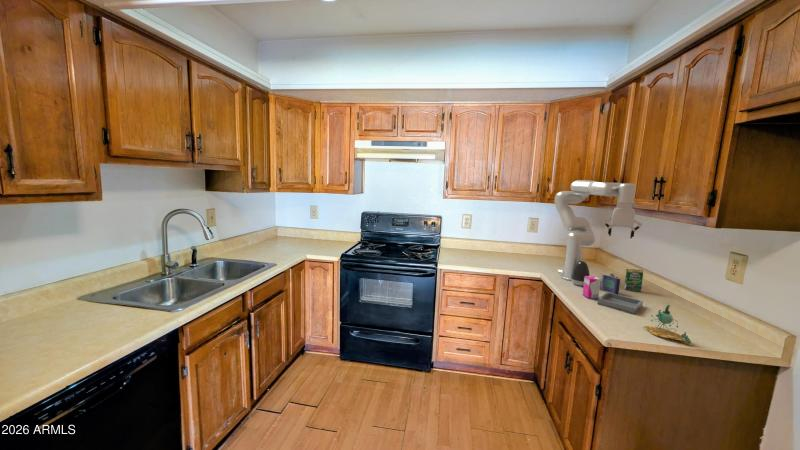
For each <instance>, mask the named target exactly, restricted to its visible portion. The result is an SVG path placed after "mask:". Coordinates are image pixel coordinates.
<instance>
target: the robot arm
mask: <svg viewBox="0 0 800 450" xmlns="http://www.w3.org/2000/svg"><path fill="white" fill-rule="evenodd" d="M636 191H637V184H635V183H627V182H626V183H624V182H623V183H622V182H608V181H607V182H605V181H603V182H600V181H597V180H587V179H585V180H584V179H577V180H575V181H573V182H571V184H570V190H563V191H562V190H561V191H559V192H557V193H556V194H555V197H554V205H555V209H556V211H557V212H558V215H559V217H560V220H561V222H562V225H563V227H564V229H565V231H568V232H569V233H568V234H567V235H566V237H565V241H566V251H565V253H566V254H565V259H564V260H565V262H564V269H559V268H558V270H557V273H558V274H561V275H560V277H561V278H562V279H564V280H565V281H566V280H567V281H571V282H572V278H571V275H572V272H573V269H574V267H575V265H576V264H577V263H578V262H579V260H580V261H583V256H584V252H583V249H582V247H589V246H593V244H594V243H595V241H596V237H595V234H594V231H593V229H592V226H591V224H590V221H589V220H588V219H587V217H586V218H585V217H582V216H576V214H575V213H574V210H573V208H572V207H571V206H570V205H569V204H575V205H576V204H580V203H582V202H583V201H585V200H586V199H587V198H588V197H589V196H591V195H592V196H601V197H602V196H603V197H617V198H616V206H615V207H614V208H613V212H612V215H611V217H610V218H606V219H604V220H603V223H604V225H605V226H606V227H607V229H608V230H607V235H609V237H611V236H612V230H613V229H612V228H613V227H621V228H622V227H623V228H629V229H631V231H630V236H629V238H630V239H633V238H634V237H635V232H636V231H637V230H639V229H640V228H641V226H643V223H642V222H639V221H638V220H636V219H635V216H636V214H635V213H636V211H635V208H637V206H638V205H637V204H635V198H636V197H635V196H636ZM608 222H610V224H608ZM634 224H637V226H635V227H634Z"/></svg>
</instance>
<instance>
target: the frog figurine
mask: <svg viewBox="0 0 800 450" xmlns="http://www.w3.org/2000/svg"><path fill="white" fill-rule="evenodd" d="M670 307H671V306H670V304H666V306H665V309H664V310H663V311H662V310H661V309H659V310H658V311H657V314H655V317H657V318H655V317H654V314H652V315H650V317H652V318H653V319H654V320H655V321H654V320H653V319H651V320H650V322H655V323H658V325H655V326H654V327H653V326H649V325H643V328H645V330H646V331H647V332H650V333H651V334H652V335H653V336H656V337H659V338H666V339H672V340H677V341H678V343H682V344H685V345H687V346H692V347H693V346H694V345H693V344H692V341H691V339H690V337H689V336H688V335H687V332H686V331H685V332H684V333H682V334H679V333H677V329H675V328H673V330H674V331H672V330H671V329H669V328H668V326H669V327H671V326H672V325H673V324H674V323H675V321H676V322H678V320H676V319H674V317H673V315H672V314H671V312H670V310H669V309H670ZM656 320H657V321H656ZM672 322H673V323H672ZM667 325H668V326H667ZM662 326H663V327H662ZM675 327H676V328H679V324H678V323H676V326H675Z"/></svg>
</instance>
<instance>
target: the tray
mask: <svg viewBox="0 0 800 450" xmlns="http://www.w3.org/2000/svg"><path fill="white" fill-rule="evenodd" d="M597 305H599V306H603V307H607V308H611V309H614V310H617V311H620V312H624V313H626V314H628V313H629V314H632V315H636V314H637V313H638V312H639V310H641V308H643V305H644V300H640V299H637V298H633V297H629V296H625V295H621V294H618V295H617V294H613V293H610V292H607V291H606V293H603V295H602V296H600V297H599V298H598V299H597Z"/></svg>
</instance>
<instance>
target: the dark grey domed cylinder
mask: <svg viewBox="0 0 800 450" xmlns="http://www.w3.org/2000/svg"><path fill="white" fill-rule="evenodd" d="M585 276H591V273H590V268H589V266H588V264H587V262H586V261H584V260H582V261H580V260H579V262H578V263H577V264H576V265H575V267H574V269H573V272H572V275H571V278H572V281H571V282H572V283H573V284H574V285H576V286H579V287H584V277H585Z"/></svg>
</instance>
